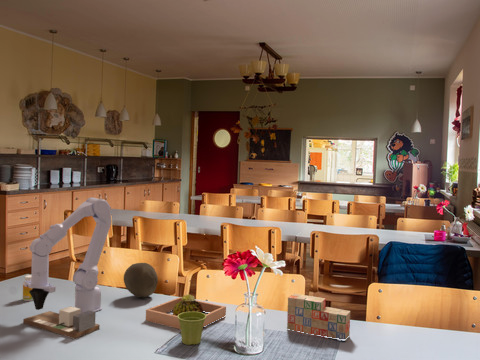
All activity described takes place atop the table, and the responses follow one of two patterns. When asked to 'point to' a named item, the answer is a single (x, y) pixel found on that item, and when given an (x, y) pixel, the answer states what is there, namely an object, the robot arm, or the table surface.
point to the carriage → (67, 315)
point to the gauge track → (49, 320)
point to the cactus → (187, 305)
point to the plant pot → (191, 326)
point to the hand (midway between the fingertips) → (39, 308)
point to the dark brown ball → (141, 279)
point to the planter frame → (160, 317)
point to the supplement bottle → (27, 290)
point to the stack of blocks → (317, 317)
